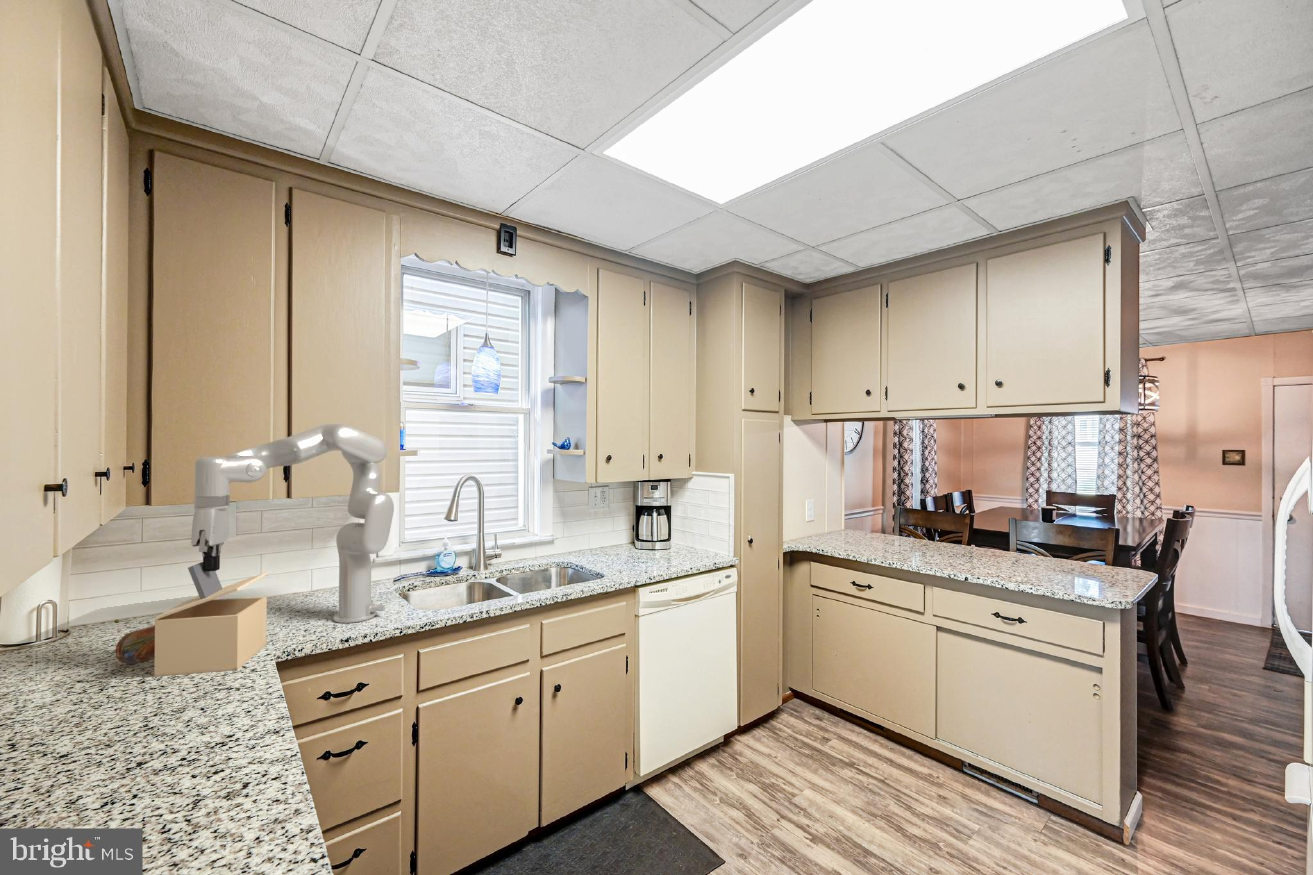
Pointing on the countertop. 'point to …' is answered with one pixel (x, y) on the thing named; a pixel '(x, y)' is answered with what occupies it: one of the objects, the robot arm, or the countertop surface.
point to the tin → (137, 646)
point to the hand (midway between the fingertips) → (211, 570)
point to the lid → (207, 588)
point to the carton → (210, 636)
